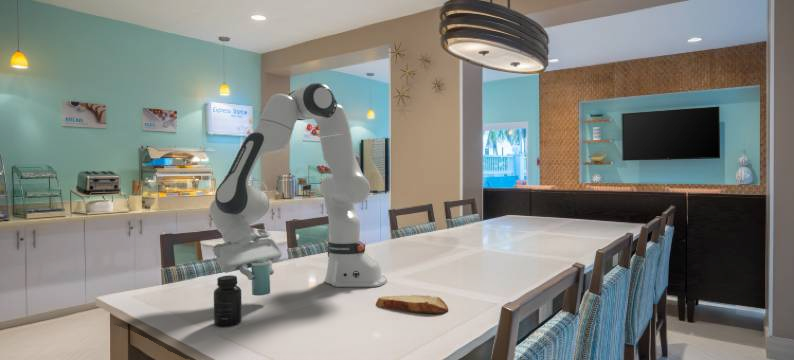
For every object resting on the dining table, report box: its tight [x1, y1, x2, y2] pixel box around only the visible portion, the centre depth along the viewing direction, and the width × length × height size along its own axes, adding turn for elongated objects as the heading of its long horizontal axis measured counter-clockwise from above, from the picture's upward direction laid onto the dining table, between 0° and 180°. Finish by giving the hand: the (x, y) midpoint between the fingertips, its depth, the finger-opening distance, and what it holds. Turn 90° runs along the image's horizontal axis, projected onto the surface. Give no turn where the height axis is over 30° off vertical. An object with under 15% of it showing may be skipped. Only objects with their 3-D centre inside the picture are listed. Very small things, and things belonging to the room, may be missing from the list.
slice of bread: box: [375, 294, 449, 315], centre depth 132 cm, size 18×18×4 cm
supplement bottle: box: [213, 275, 243, 328], centre depth 118 cm, size 7×7×12 cm
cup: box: [250, 259, 271, 296], centre depth 135 cm, size 5×5×10 cm
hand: (262, 276), depth 134 cm, fingers closed on cup, 5 cm apart
